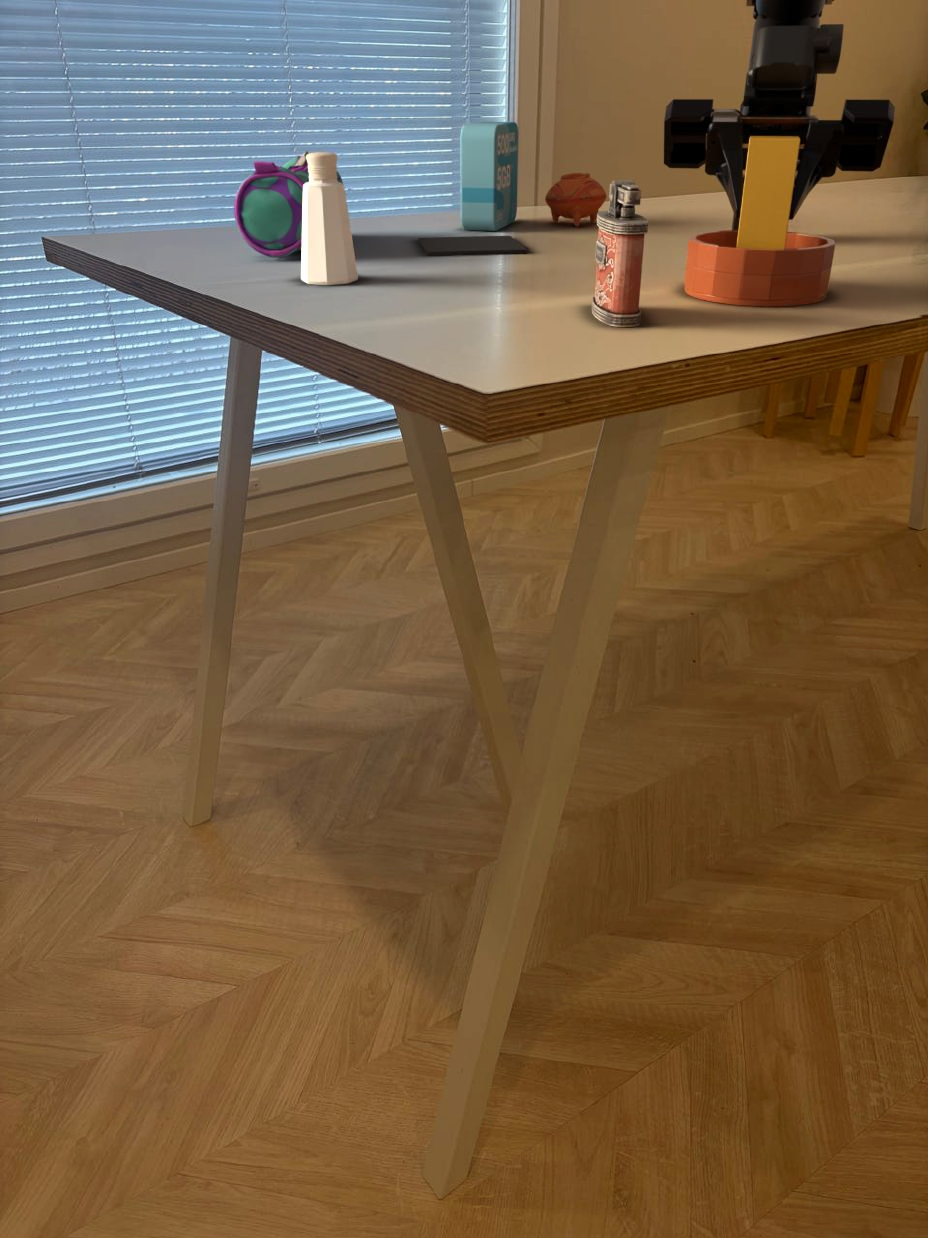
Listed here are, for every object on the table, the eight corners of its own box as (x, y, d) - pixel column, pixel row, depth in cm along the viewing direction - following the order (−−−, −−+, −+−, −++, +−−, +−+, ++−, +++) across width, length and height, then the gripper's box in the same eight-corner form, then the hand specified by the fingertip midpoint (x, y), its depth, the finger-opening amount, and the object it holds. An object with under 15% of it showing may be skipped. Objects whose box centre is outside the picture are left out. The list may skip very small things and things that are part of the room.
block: (732, 281, 90) (750, 135, 85) (777, 283, 89) (798, 136, 84) (731, 289, 87) (749, 138, 81) (778, 291, 86) (800, 138, 80)
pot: (615, 224, 127) (606, 168, 124) (555, 240, 128) (545, 185, 124) (605, 214, 134) (596, 161, 130) (548, 230, 135) (538, 177, 131)
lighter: (584, 306, 83) (592, 176, 79) (624, 305, 84) (633, 176, 79) (604, 327, 76) (613, 186, 72) (648, 326, 77) (660, 185, 72)
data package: (494, 232, 123) (496, 124, 118) (460, 231, 125) (459, 124, 119) (517, 220, 134) (519, 121, 128) (484, 219, 135) (485, 120, 129)
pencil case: (276, 234, 123) (268, 148, 118) (347, 234, 122) (342, 148, 118) (235, 261, 104) (224, 161, 100) (319, 262, 104) (312, 161, 99)
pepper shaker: (326, 287, 91) (317, 155, 86) (289, 280, 95) (278, 153, 89) (369, 279, 95) (364, 152, 90) (332, 273, 98) (325, 150, 93)
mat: (418, 240, 117) (418, 237, 117) (509, 238, 119) (509, 235, 118) (427, 255, 108) (427, 251, 108) (527, 252, 109) (527, 249, 109)
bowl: (719, 275, 96) (725, 226, 94) (845, 289, 89) (854, 236, 87) (660, 295, 87) (665, 241, 85) (794, 312, 81) (803, 254, 79)
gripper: (676, -11, 83) (653, 143, 79) (916, -16, 79) (903, 146, 74) (674, 94, 93) (653, 235, 89) (885, 95, 89) (873, 242, 85)
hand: (764, 215), depth 84 cm, fingers closed on block, 4 cm apart
